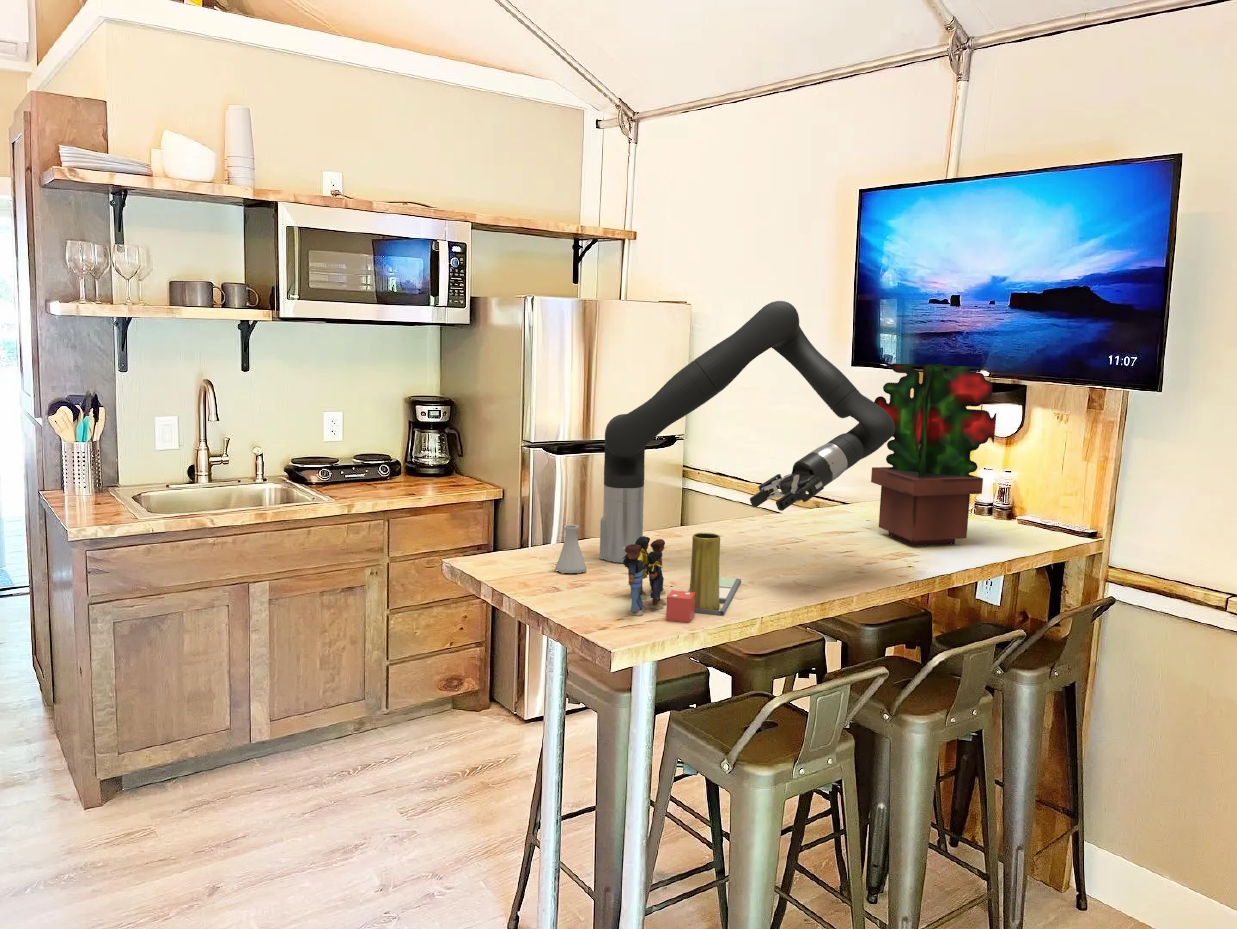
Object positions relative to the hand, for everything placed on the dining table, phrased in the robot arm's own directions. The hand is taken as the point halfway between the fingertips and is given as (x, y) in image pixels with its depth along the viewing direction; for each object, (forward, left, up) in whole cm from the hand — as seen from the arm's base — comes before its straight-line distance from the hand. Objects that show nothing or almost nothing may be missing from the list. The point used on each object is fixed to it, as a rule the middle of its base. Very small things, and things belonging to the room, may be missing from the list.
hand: (764, 505), depth 195 cm
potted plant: (+34, +62, -19) cm, 73 cm away
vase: (-9, -14, -19) cm, 25 cm away
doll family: (-21, -14, -19) cm, 32 cm away
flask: (-42, +3, -19) cm, 46 cm away
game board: (-9, -6, -18) cm, 21 cm away
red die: (-12, -22, -18) cm, 31 cm away
